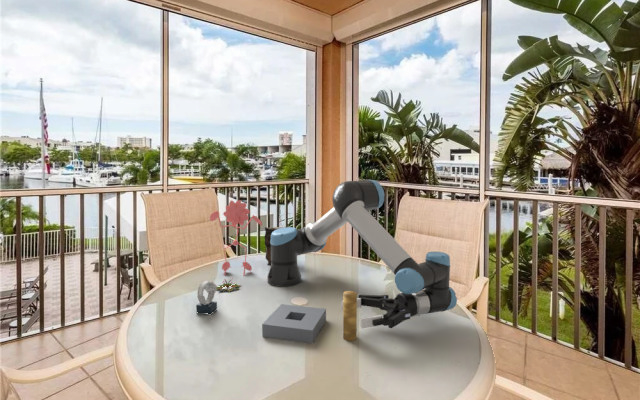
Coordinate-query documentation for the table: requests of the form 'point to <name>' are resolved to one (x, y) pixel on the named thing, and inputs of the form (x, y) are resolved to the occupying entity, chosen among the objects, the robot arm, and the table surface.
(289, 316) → the hole block
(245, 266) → the figurine
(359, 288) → the table surface
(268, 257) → the owl
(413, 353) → the table surface
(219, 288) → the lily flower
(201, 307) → the watch
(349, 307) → the ochre pin
